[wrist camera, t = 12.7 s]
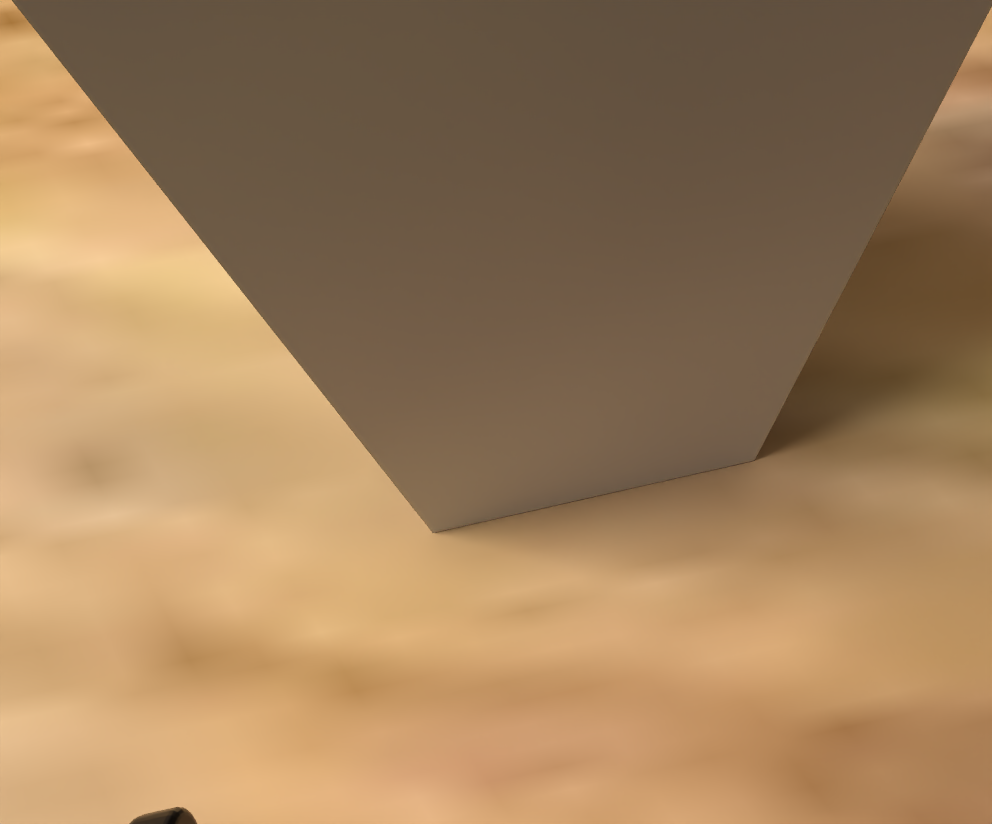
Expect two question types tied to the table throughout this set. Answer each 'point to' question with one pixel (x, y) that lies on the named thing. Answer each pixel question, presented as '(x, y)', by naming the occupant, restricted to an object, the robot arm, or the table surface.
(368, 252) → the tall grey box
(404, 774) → the table surface
